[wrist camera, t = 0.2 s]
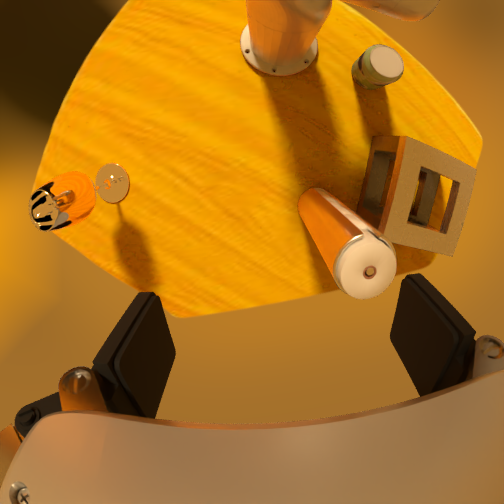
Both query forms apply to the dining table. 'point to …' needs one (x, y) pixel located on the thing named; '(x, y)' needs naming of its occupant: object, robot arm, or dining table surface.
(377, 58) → the beverage can
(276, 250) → the dining table surface
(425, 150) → the collar stand
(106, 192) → the wineglass
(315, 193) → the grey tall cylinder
